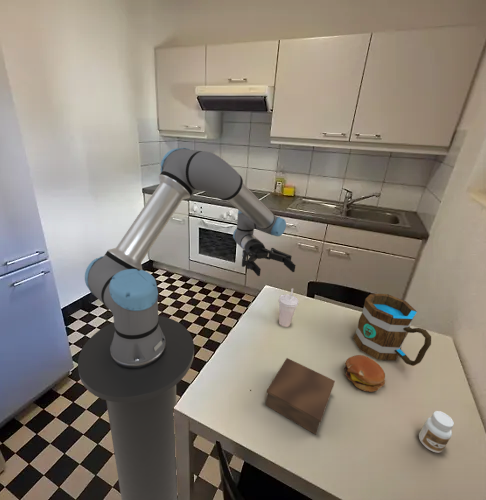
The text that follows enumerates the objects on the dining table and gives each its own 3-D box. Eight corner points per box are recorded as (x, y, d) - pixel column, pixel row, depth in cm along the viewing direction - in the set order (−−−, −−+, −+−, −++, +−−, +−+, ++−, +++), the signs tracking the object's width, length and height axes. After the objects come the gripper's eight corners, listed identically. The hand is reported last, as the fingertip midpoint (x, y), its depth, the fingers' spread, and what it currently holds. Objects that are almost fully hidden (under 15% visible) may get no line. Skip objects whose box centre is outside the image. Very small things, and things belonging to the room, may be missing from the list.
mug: (343, 335, 91) (355, 296, 85) (373, 327, 95) (386, 289, 89) (398, 383, 74) (417, 339, 68) (431, 370, 79) (451, 328, 73)
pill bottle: (421, 449, 59) (435, 424, 56) (415, 429, 62) (427, 405, 59) (446, 456, 57) (461, 432, 54) (438, 436, 61) (451, 412, 58)
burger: (381, 371, 77) (385, 359, 75) (383, 398, 69) (389, 385, 68) (343, 359, 81) (347, 347, 79) (341, 383, 73) (345, 370, 71)
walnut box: (264, 405, 66) (266, 390, 64) (284, 371, 75) (286, 357, 74) (316, 436, 60) (321, 420, 58) (330, 395, 69) (335, 380, 67)
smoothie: (290, 332, 91) (297, 295, 85) (272, 324, 94) (277, 289, 88) (296, 322, 96) (303, 286, 90) (278, 315, 99) (284, 280, 93)
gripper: (278, 252, 121) (306, 276, 102) (224, 257, 113) (243, 283, 95) (280, 236, 118) (309, 257, 99) (225, 240, 110) (244, 264, 92)
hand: (277, 270), depth 97 cm, fingers open, 13 cm apart
